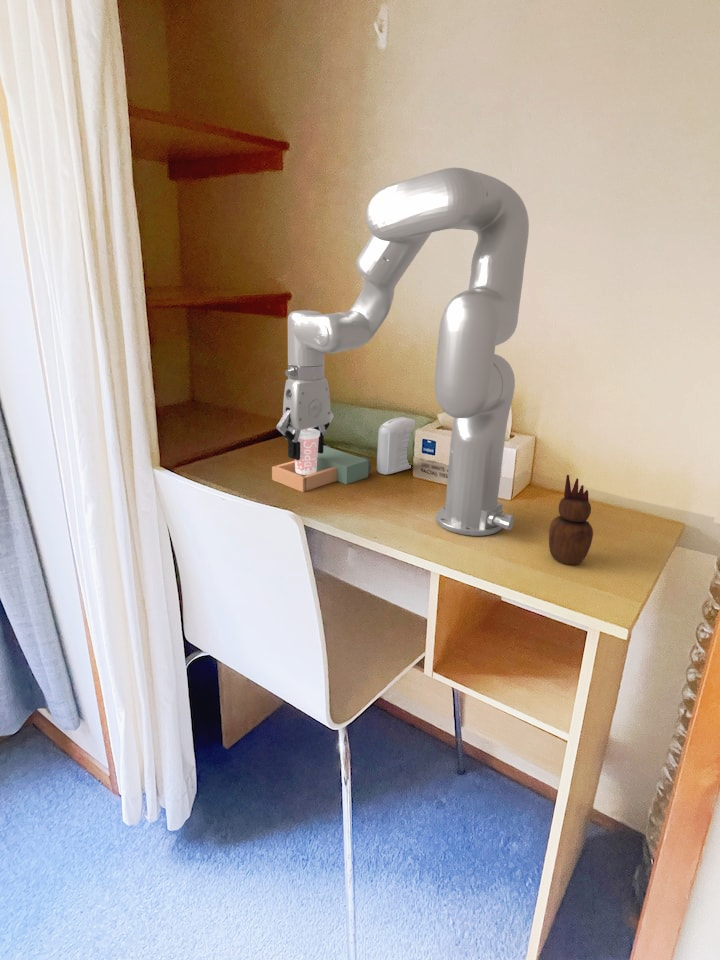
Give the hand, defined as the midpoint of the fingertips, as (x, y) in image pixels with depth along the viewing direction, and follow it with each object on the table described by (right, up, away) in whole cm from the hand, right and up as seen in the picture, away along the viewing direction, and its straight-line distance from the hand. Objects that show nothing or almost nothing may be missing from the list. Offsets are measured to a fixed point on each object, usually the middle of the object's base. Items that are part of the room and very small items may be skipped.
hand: (306, 454), depth 134 cm
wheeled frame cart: (+2, -5, +4) cm, 7 cm away
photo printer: (+20, -3, +10) cm, 23 cm away
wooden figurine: (+46, -19, -30) cm, 59 cm away
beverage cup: (0, -4, +1) cm, 4 cm away
